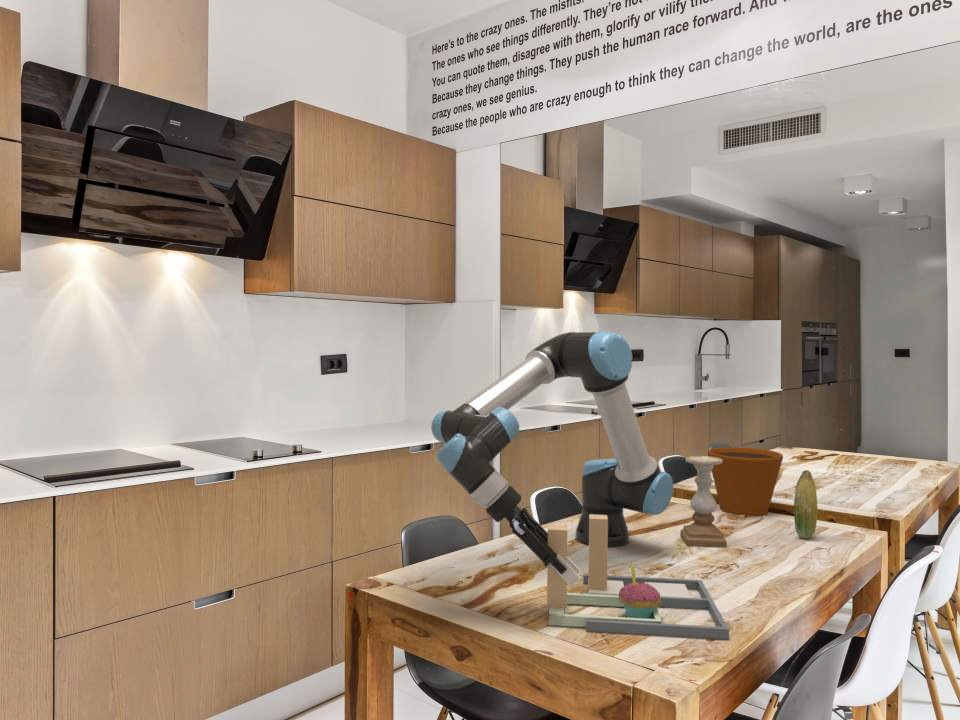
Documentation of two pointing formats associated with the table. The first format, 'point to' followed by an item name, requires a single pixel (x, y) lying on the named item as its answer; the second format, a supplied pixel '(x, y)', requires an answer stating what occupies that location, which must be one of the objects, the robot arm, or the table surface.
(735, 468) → the flower pot
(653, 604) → the cupcake
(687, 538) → the candle holder
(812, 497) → the vegetable
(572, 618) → the pale green frame
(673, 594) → the broken strip
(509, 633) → the table surface
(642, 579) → the board
